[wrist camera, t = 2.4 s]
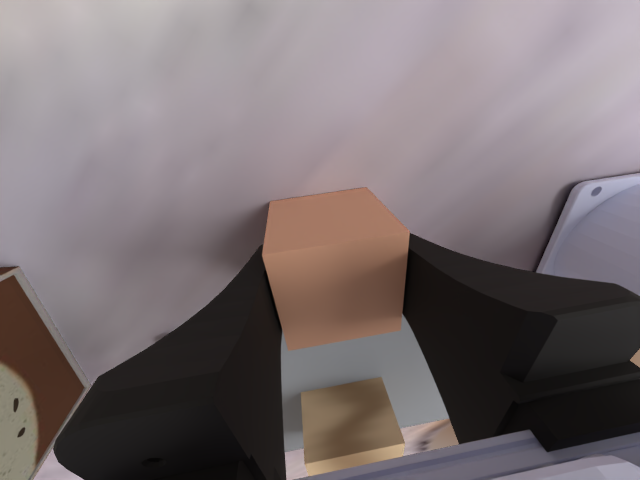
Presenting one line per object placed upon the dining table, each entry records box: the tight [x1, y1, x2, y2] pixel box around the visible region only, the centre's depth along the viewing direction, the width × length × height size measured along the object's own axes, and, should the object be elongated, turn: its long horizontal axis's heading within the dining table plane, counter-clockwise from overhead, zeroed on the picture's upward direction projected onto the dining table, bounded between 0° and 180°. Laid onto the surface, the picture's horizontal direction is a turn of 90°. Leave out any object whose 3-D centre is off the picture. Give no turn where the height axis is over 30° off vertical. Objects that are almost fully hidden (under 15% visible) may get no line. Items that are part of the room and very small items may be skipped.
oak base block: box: [301, 377, 405, 476], centre depth 17 cm, size 6×6×4 cm
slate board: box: [281, 314, 449, 452], centre depth 18 cm, size 20×16×1 cm
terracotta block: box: [262, 187, 410, 351], centre depth 10 cm, size 4×4×4 cm
